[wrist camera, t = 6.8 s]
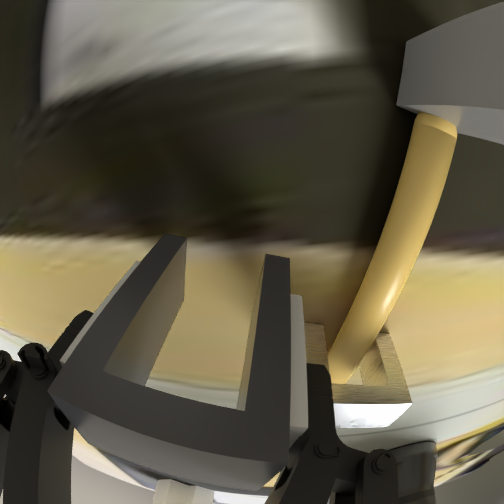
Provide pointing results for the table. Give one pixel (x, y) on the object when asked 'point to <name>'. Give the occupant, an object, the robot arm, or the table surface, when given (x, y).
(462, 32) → the mallet
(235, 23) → the table surface
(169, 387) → the table surface
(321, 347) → the light grey u-block
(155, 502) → the white angled block
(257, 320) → the dark grey u-bracket
